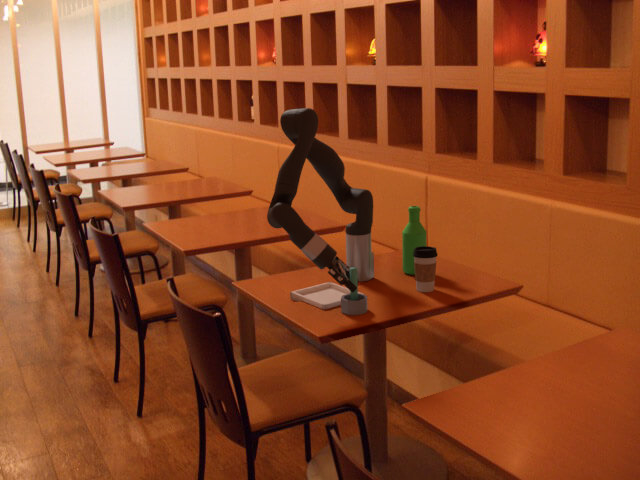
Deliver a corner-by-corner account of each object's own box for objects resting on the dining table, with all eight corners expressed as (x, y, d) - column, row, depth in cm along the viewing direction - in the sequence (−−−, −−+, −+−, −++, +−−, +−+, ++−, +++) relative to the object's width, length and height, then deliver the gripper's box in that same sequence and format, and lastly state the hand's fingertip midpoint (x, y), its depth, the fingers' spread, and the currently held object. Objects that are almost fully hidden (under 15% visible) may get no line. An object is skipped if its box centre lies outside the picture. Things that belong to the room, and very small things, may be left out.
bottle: (426, 269, 297) (426, 204, 291) (426, 275, 288) (426, 208, 282) (402, 269, 298) (402, 204, 292) (402, 275, 289) (402, 209, 283)
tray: (330, 288, 277) (329, 281, 276) (364, 301, 262) (364, 294, 261) (290, 298, 267) (290, 291, 266) (324, 312, 252) (323, 305, 252)
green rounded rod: (355, 309, 251) (353, 266, 248) (359, 310, 250) (358, 268, 246) (349, 310, 250) (348, 268, 247) (353, 312, 248) (352, 269, 245)
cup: (356, 307, 256) (355, 291, 254) (372, 314, 249) (372, 297, 248) (336, 313, 251) (336, 297, 250) (352, 319, 245) (352, 303, 243)
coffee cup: (422, 294, 266) (422, 252, 263) (408, 288, 274) (407, 246, 270) (442, 290, 270) (442, 248, 267) (428, 284, 277) (428, 243, 274)
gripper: (324, 248, 238) (363, 284, 240) (328, 237, 252) (365, 271, 254) (308, 265, 240) (346, 301, 242) (312, 253, 254) (349, 287, 256)
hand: (356, 286), depth 248 cm, fingers open, 8 cm apart
